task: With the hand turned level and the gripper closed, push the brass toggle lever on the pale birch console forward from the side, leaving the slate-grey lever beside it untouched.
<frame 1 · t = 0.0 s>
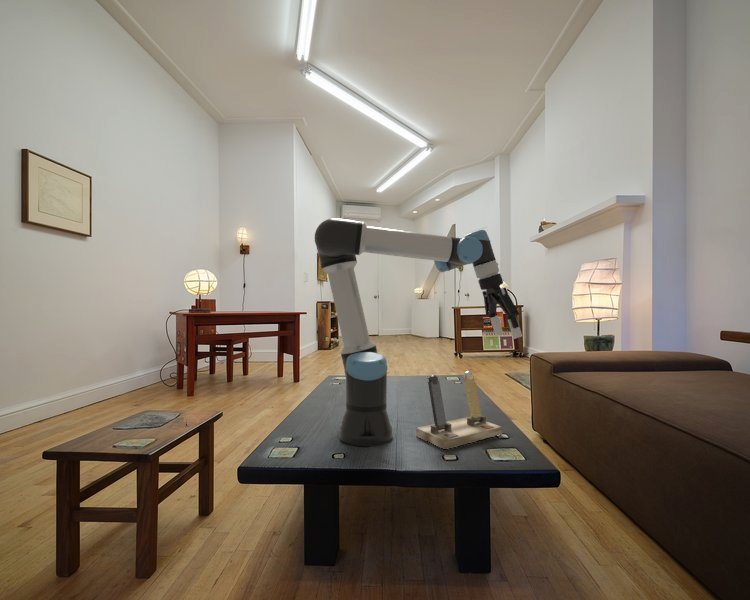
hand: (508, 336, 125), 28 cm above the table, tool tilted 20°, fingers open, 13 cm apart
lever brass: (472, 396, 112), point 10 cm above the table, hinge at -15.0°
lever slate: (437, 401, 105), point 10 cm above the table, hinge at -15.0°
console: (459, 435, 107), on the table
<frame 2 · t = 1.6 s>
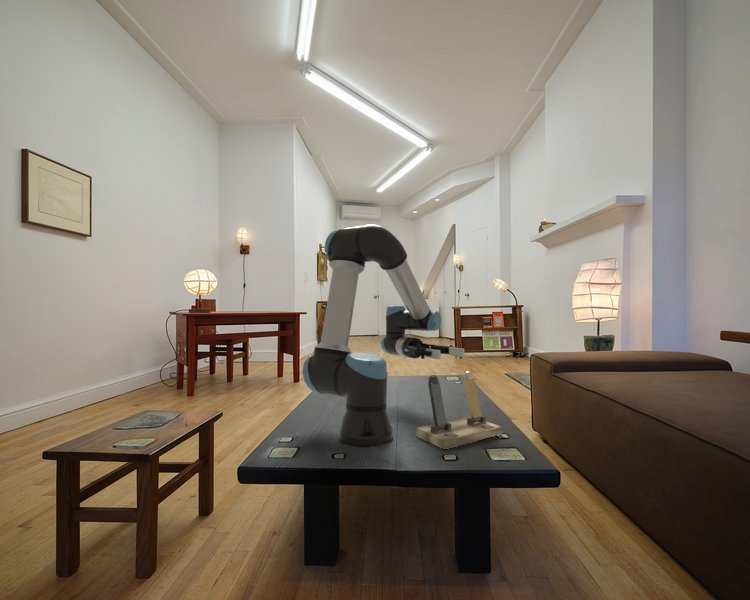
hand: (451, 353, 120), 22 cm above the table, tool horizontal, fingers open, 10 cm apart
nothing on the table moved.
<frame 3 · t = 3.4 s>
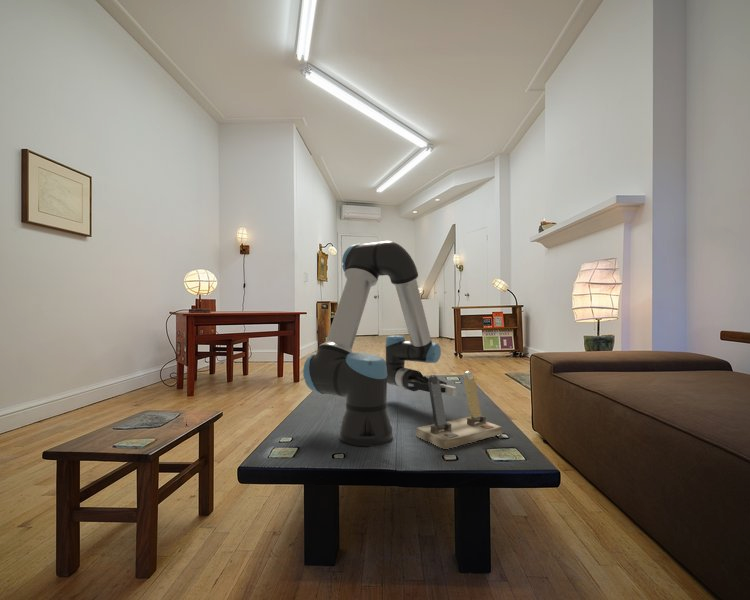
hand: (454, 391, 119), 10 cm above the table, tool horizontal, fingers closed
nothing on the table moved.
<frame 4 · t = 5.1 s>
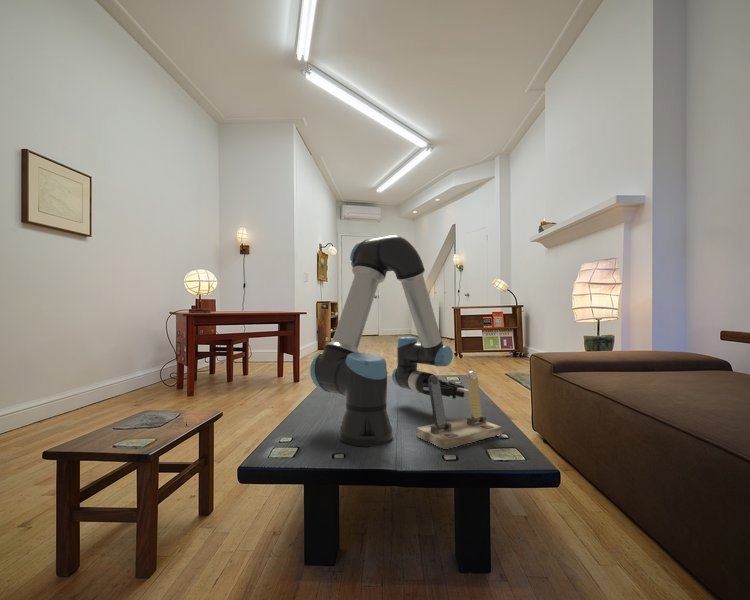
hand: (473, 396, 113), 10 cm above the table, tool horizontal, fingers closed
lever brass: (474, 396, 112), point 10 cm above the table, hinge at -7.8°, touching gripper
everything else where it was.
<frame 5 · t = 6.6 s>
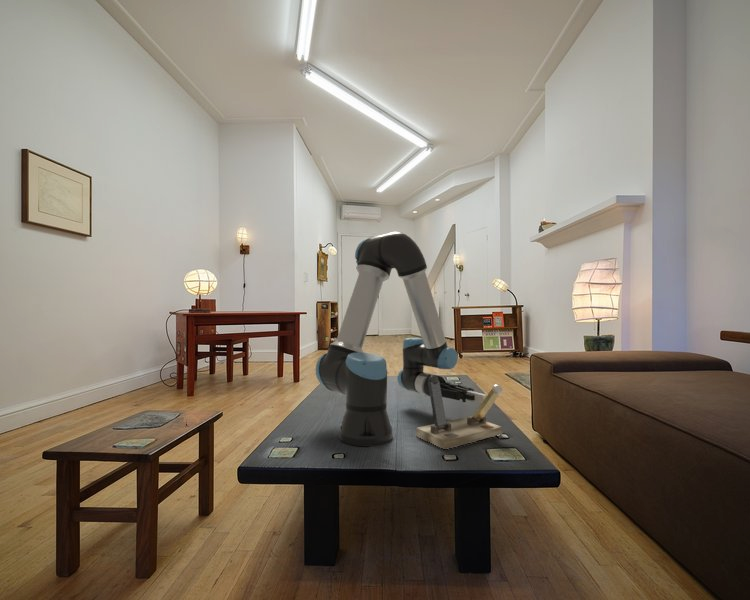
hand: (485, 399, 109), 10 cm above the table, tool horizontal, fingers closed
lever brass: (487, 403, 108), point 9 cm above the table, hinge at 36.8°, touching gripper
everything else where it was.
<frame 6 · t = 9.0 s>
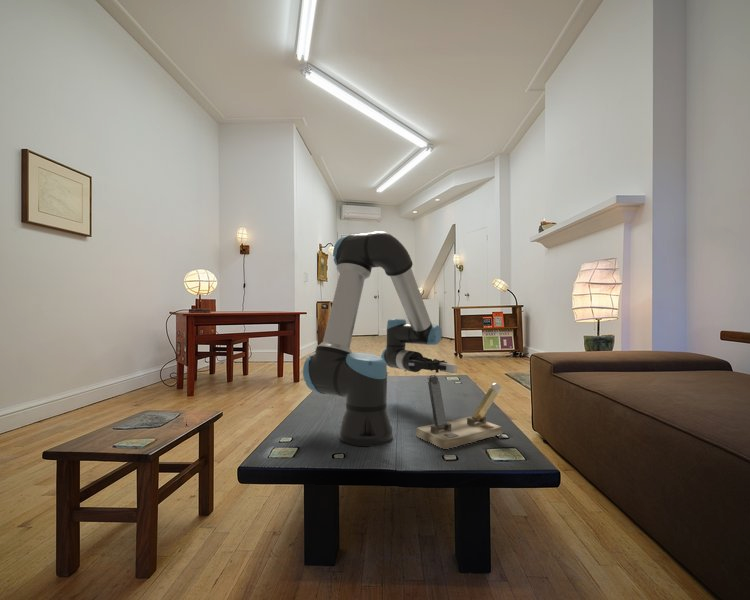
hand: (454, 369, 119), 17 cm above the table, tool horizontal, fingers closed
lever brass: (486, 403, 108), point 9 cm above the table, hinge at 34.0°
everything else where it was.
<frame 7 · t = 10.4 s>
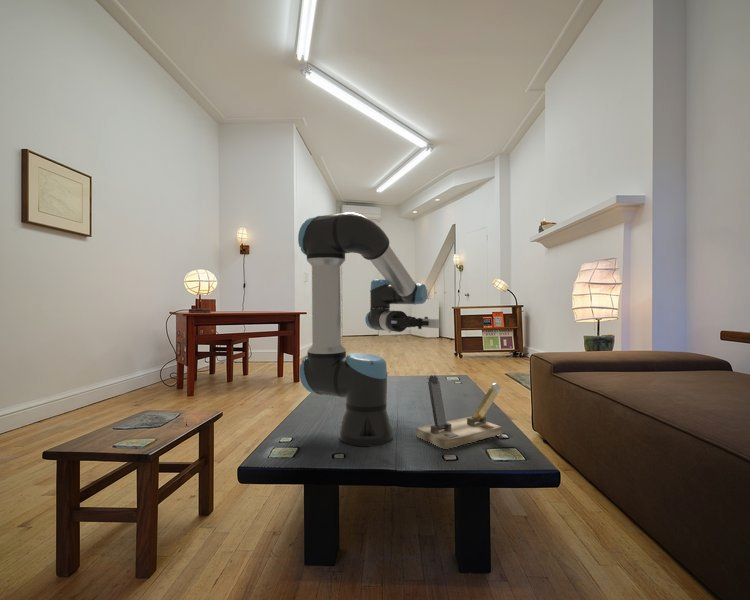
hand: (437, 323, 115), 32 cm above the table, tool horizontal, fingers closed
nothing on the table moved.
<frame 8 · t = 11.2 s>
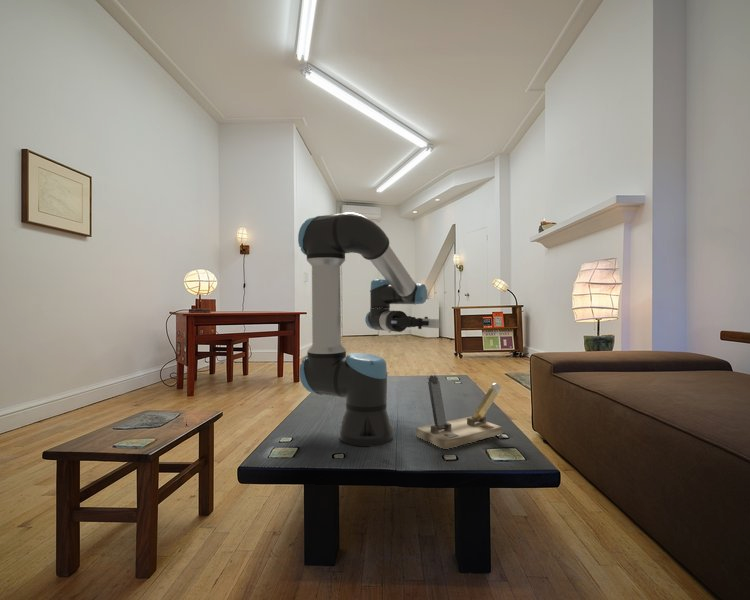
hand: (437, 323, 115), 32 cm above the table, tool horizontal, fingers closed
nothing on the table moved.
at the end: lever brass at +34° (first picture: -15°); lever slate at -15° (first picture: -15°) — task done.
